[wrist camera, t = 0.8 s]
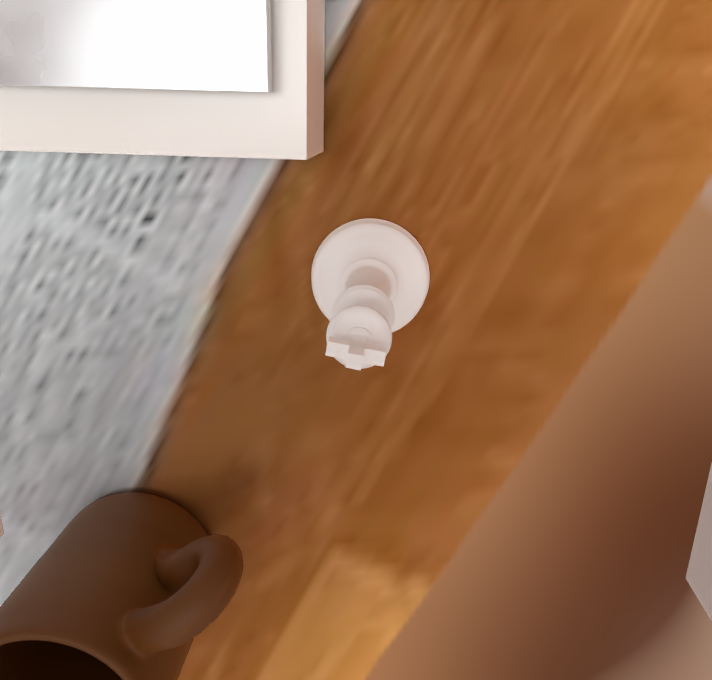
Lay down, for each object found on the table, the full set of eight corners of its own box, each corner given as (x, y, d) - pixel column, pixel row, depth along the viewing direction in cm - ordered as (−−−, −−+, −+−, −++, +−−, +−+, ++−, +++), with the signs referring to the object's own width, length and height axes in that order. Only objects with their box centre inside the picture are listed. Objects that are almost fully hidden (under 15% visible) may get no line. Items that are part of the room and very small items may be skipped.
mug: (217, 406, 30) (140, 529, 21) (321, 524, 32) (290, 684, 23) (38, 536, 33) (-96, 691, 24) (142, 637, 35) (52, 818, 26)
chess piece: (321, 207, 27) (278, 258, 17) (441, 230, 27) (463, 293, 17) (303, 321, 28) (254, 424, 19) (415, 343, 28) (423, 456, 19)
